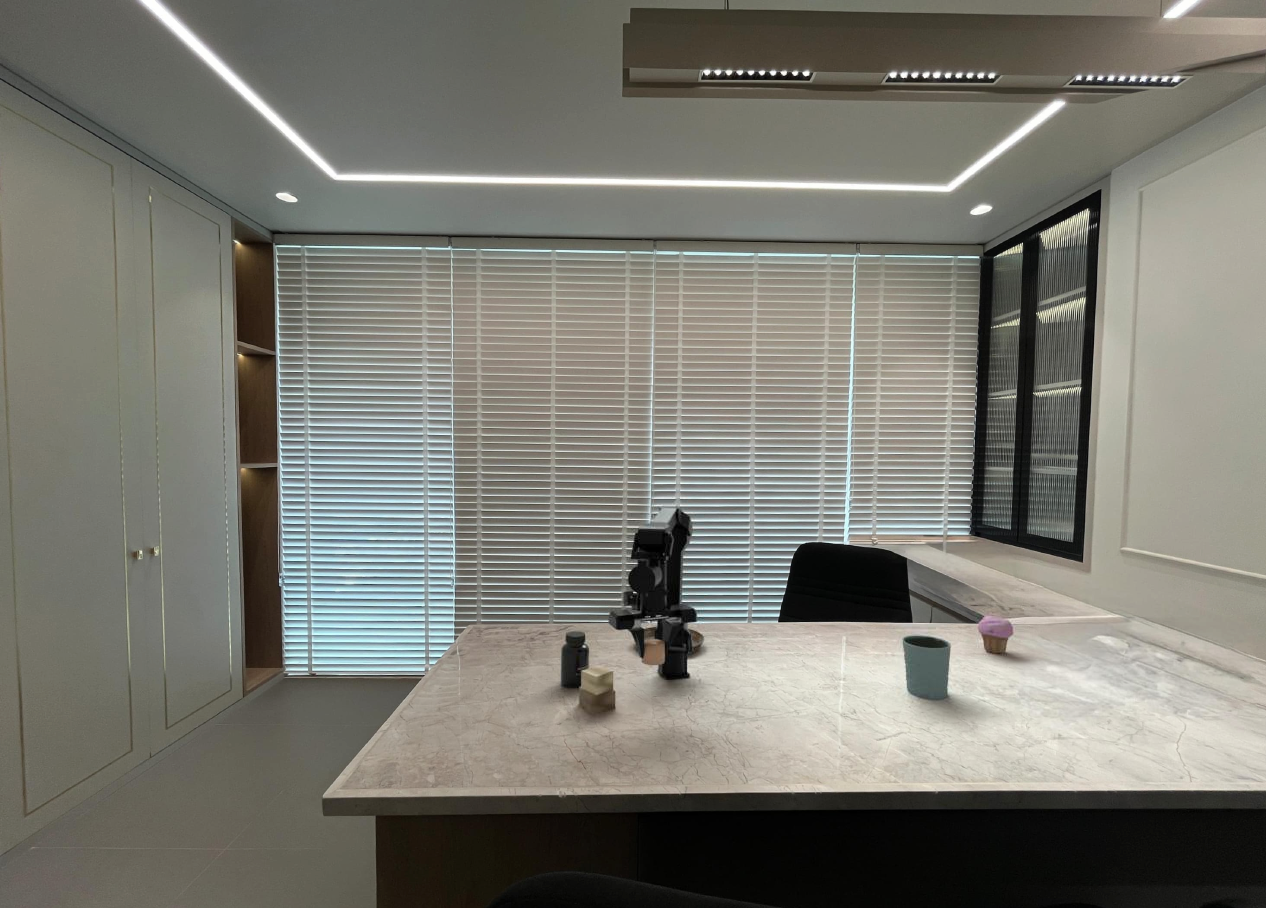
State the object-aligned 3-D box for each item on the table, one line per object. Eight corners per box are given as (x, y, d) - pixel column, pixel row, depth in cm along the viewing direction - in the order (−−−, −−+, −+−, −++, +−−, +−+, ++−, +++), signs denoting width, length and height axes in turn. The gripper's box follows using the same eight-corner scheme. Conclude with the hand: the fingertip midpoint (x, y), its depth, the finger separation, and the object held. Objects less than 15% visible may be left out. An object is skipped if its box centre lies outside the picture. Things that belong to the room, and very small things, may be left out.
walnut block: (603, 699, 134) (603, 681, 134) (615, 709, 129) (615, 691, 129) (579, 704, 131) (579, 686, 131) (590, 715, 126) (590, 696, 126)
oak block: (598, 682, 134) (598, 665, 134) (613, 688, 130) (613, 670, 130) (581, 688, 130) (581, 670, 130) (596, 695, 127) (596, 676, 127)
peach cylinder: (659, 656, 131) (659, 638, 131) (668, 663, 126) (668, 644, 126) (638, 658, 129) (638, 640, 129) (646, 666, 124) (646, 647, 124)
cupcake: (979, 644, 175) (979, 610, 175) (1014, 650, 170) (1014, 615, 170) (976, 652, 167) (976, 617, 168) (1012, 658, 162) (1012, 622, 163)
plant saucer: (708, 659, 162) (708, 647, 162) (632, 659, 162) (632, 646, 162) (700, 636, 182) (700, 626, 182) (633, 636, 183) (633, 625, 183)
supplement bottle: (584, 689, 140) (584, 638, 140) (556, 687, 141) (557, 636, 141) (592, 678, 146) (592, 630, 147) (565, 676, 148) (566, 628, 148)
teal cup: (956, 692, 139) (956, 641, 139) (943, 705, 131) (943, 651, 131) (910, 681, 146) (910, 632, 146) (896, 692, 138) (896, 641, 138)
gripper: (676, 574, 139) (676, 640, 138) (600, 579, 132) (600, 649, 132) (698, 583, 128) (698, 655, 128) (617, 590, 122) (616, 666, 121)
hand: (653, 656), depth 128 cm, fingers closed on peach cylinder, 5 cm apart
